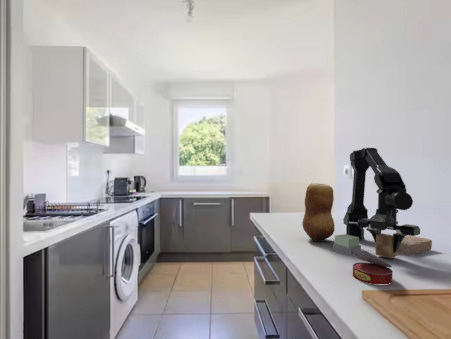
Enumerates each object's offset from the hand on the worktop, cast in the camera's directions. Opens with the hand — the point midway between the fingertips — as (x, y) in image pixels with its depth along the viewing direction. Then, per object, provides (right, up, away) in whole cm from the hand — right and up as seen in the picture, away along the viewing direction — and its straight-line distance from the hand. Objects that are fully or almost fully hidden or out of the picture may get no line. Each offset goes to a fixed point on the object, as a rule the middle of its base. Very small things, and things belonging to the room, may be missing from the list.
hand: (386, 250), depth 99 cm
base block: (-11, -3, +7) cm, 13 cm away
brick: (+15, -3, +11) cm, 19 cm away
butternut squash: (-17, -3, +24) cm, 29 cm away
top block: (-11, 0, +7) cm, 13 cm away
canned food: (-16, -2, -21) cm, 26 cm away
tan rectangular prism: (0, -2, 0) cm, 2 cm away
